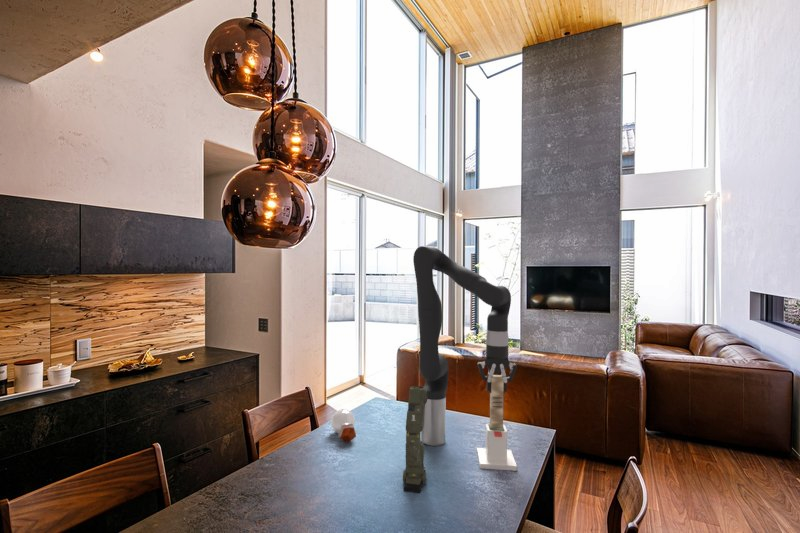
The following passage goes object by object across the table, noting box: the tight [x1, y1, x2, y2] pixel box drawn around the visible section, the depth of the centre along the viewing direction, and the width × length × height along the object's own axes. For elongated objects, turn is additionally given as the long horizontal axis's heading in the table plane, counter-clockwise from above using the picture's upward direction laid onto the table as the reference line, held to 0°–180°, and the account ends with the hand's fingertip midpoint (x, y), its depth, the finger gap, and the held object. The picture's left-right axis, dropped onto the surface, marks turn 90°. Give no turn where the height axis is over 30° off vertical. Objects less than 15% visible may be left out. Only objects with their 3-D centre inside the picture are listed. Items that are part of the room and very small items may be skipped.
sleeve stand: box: [476, 423, 518, 472], centre depth 137 cm, size 12×12×12 cm
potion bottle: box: [330, 408, 357, 444], centre depth 156 cm, size 9×10×15 cm
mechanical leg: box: [402, 385, 427, 494], centre depth 124 cm, size 14×7×30 cm, turn 169°
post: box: [488, 374, 504, 431], centre depth 137 cm, size 4×4×22 cm
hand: (496, 392), depth 137 cm, fingers closed on post, 4 cm apart
